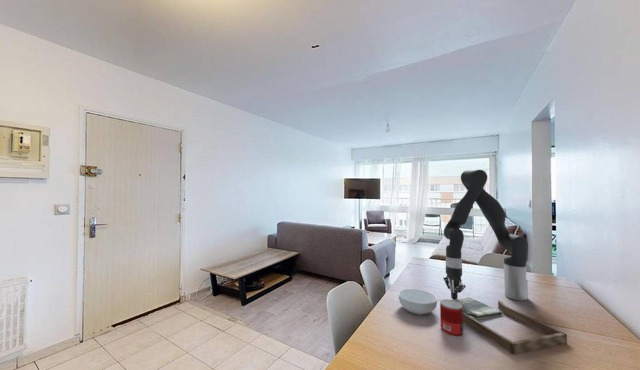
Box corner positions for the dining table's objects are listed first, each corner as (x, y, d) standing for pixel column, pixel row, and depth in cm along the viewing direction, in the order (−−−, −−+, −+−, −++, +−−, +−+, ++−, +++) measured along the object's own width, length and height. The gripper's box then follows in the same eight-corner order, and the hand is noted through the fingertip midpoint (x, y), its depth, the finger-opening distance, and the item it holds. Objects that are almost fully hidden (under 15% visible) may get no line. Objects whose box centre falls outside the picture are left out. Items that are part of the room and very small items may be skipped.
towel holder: (499, 307, 117) (499, 300, 117) (571, 342, 90) (571, 333, 90) (447, 315, 109) (447, 307, 110) (508, 355, 82) (507, 345, 82)
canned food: (466, 337, 93) (465, 308, 93) (443, 335, 94) (443, 306, 95) (458, 326, 100) (458, 300, 101) (438, 324, 102) (437, 298, 102)
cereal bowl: (434, 305, 119) (434, 291, 119) (439, 322, 104) (439, 306, 104) (398, 300, 125) (398, 286, 125) (398, 315, 109) (398, 300, 109)
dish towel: (468, 299, 126) (468, 293, 126) (503, 316, 109) (503, 309, 109) (440, 304, 121) (439, 298, 121) (471, 322, 104) (471, 315, 104)
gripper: (470, 269, 120) (470, 304, 119) (450, 261, 133) (450, 293, 132) (457, 270, 118) (458, 305, 118) (438, 262, 131) (439, 294, 130)
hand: (454, 299), depth 125 cm, fingers closed
